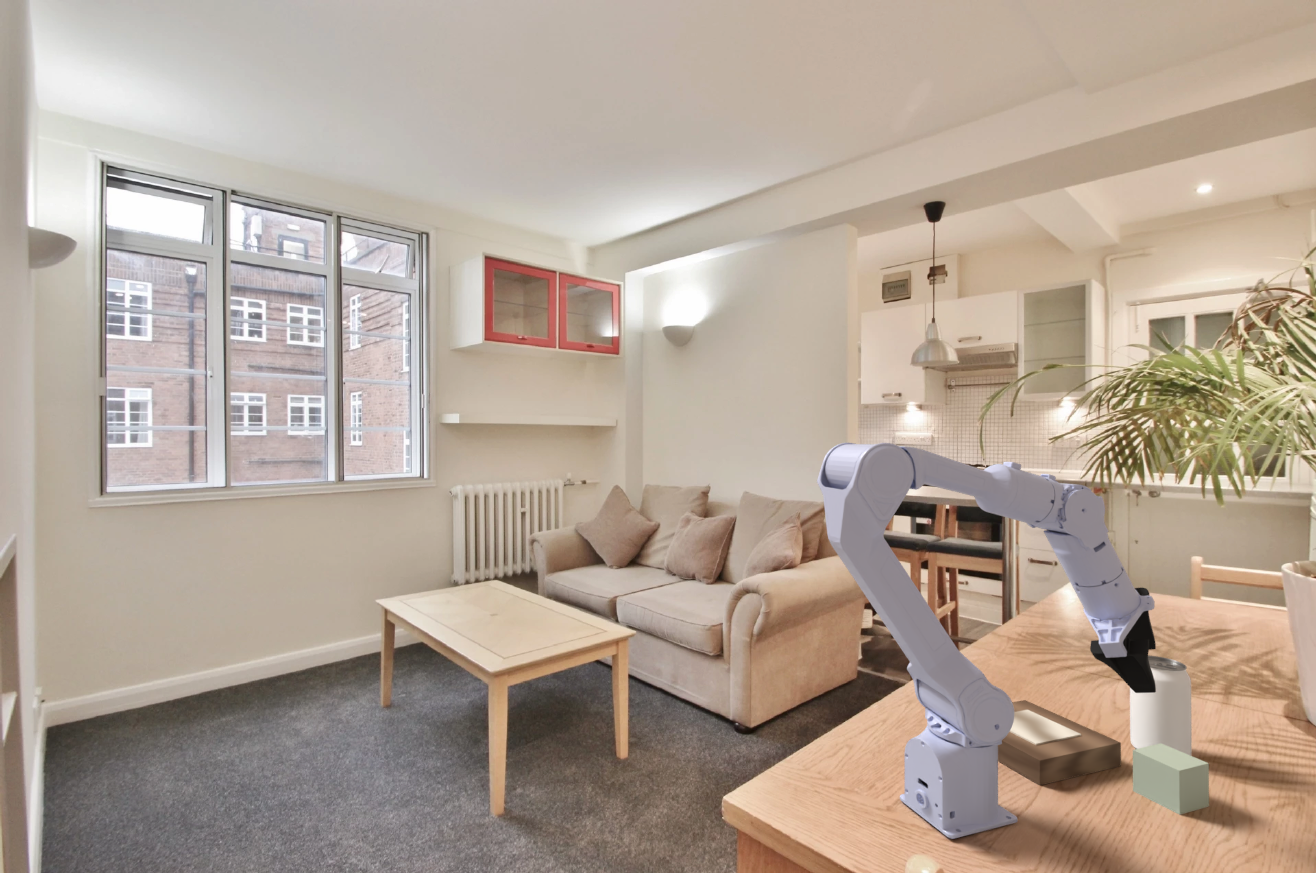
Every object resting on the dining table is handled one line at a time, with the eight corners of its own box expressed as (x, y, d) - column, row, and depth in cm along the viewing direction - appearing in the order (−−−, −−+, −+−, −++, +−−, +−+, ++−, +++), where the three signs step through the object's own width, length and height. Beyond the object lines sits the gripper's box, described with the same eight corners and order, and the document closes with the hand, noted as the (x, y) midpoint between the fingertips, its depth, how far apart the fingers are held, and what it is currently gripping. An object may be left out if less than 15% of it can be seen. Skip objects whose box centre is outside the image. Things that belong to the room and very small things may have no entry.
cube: (1179, 815, 70) (1179, 770, 70) (1133, 792, 75) (1132, 750, 75) (1208, 807, 72) (1208, 763, 72) (1161, 784, 76) (1161, 743, 76)
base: (1039, 785, 76) (1039, 758, 76) (951, 734, 89) (951, 711, 89) (1120, 766, 80) (1120, 741, 80) (1025, 720, 94) (1025, 698, 94)
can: (1131, 735, 89) (1130, 651, 89) (1191, 749, 85) (1190, 661, 85) (1128, 753, 84) (1128, 663, 84) (1192, 769, 80) (1191, 674, 80)
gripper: (1133, 605, 66) (1189, 711, 67) (1136, 534, 76) (1184, 628, 77) (1060, 613, 71) (1113, 712, 72) (1072, 546, 81) (1118, 633, 82)
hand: (1145, 668), depth 75 cm, fingers open, 7 cm apart
